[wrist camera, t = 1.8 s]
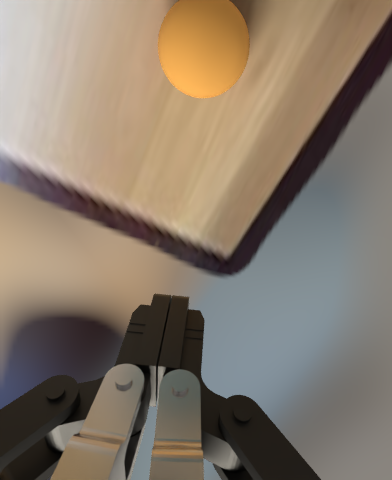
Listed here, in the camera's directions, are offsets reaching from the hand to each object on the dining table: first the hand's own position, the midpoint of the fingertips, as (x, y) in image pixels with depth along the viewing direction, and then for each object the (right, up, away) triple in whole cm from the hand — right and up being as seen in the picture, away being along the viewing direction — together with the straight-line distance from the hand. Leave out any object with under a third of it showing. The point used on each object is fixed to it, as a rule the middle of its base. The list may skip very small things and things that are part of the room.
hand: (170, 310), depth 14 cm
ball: (+1, +14, +5) cm, 15 cm away
